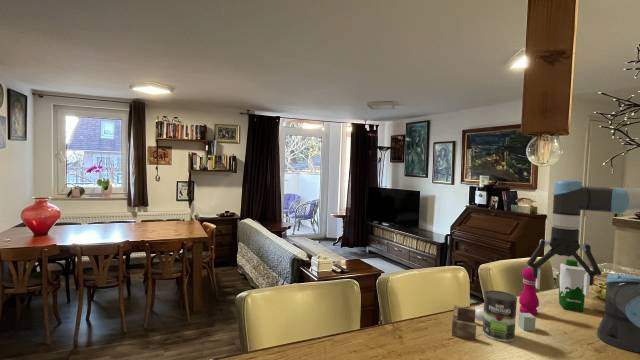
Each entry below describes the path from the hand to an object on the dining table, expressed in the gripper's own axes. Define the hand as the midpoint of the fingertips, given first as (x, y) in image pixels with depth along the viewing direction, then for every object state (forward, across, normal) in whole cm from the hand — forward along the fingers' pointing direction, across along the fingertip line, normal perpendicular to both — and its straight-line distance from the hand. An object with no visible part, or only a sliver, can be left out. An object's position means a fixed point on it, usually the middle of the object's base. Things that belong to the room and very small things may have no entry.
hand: (561, 291), depth 120 cm
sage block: (+18, +8, -11) cm, 23 cm away
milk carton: (+18, -13, -44) cm, 49 cm away
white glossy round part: (+18, +22, -14) cm, 32 cm away
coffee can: (+19, +18, 0) cm, 26 cm away
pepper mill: (+18, +5, -29) cm, 35 cm away
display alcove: (+18, +29, 0) cm, 34 cm away
